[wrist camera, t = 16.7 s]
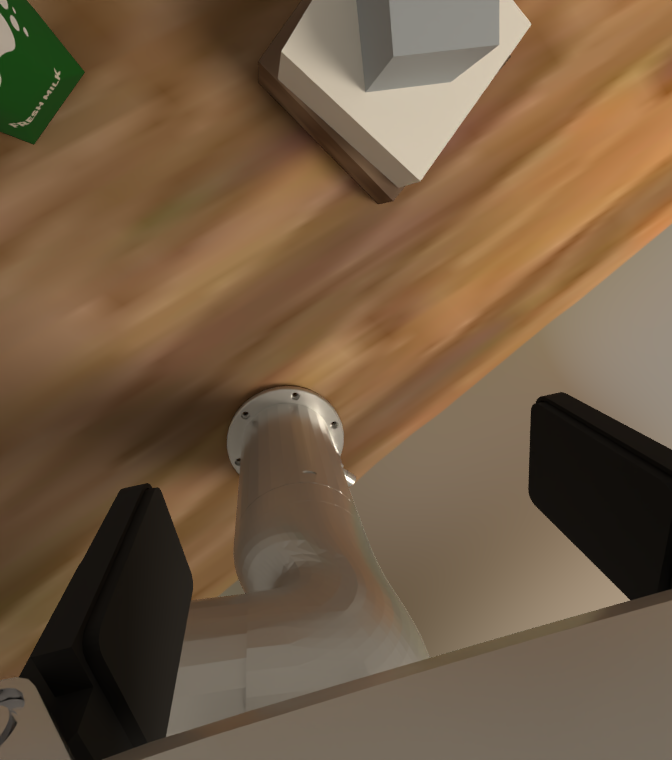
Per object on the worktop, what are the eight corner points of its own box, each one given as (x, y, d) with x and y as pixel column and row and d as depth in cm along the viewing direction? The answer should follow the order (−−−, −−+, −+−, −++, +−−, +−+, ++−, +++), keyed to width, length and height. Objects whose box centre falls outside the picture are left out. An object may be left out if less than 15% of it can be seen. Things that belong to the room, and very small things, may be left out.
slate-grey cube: (446, -32, 26) (499, -105, 20) (450, 82, 28) (499, 44, 22) (353, -24, 25) (381, -97, 19) (365, 92, 27) (393, 56, 22)
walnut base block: (479, 78, 37) (510, 56, 32) (377, 204, 39) (393, 201, 34) (368, -70, 32) (386, -120, 27) (258, 84, 34) (258, 61, 30)
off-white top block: (492, 54, 32) (531, 24, 27) (398, 187, 34) (420, 181, 30) (375, -83, 28) (399, -145, 23) (277, 79, 30) (281, 51, 26)
